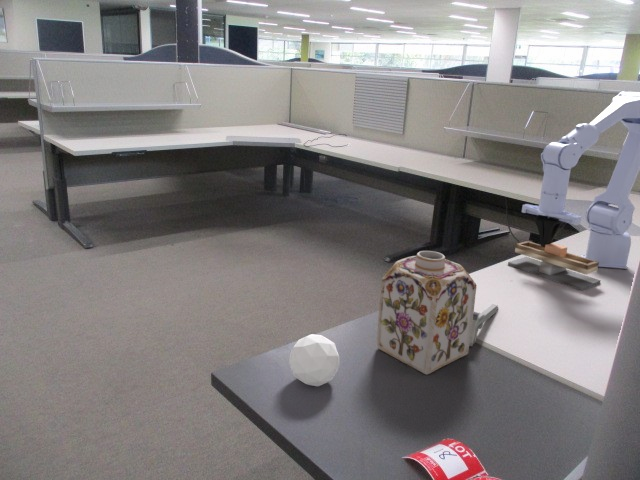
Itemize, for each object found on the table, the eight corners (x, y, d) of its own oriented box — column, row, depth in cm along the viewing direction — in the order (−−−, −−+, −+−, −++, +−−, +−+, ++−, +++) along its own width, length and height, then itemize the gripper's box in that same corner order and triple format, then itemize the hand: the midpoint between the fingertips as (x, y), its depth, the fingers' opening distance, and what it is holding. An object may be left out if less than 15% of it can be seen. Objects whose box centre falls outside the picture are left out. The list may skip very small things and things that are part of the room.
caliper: (472, 349, 95) (476, 317, 93) (466, 347, 96) (469, 315, 94) (498, 309, 112) (502, 281, 110) (493, 308, 112) (496, 280, 111)
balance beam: (507, 264, 138) (510, 244, 136) (526, 259, 143) (529, 239, 141) (582, 290, 123) (586, 267, 121) (600, 283, 127) (604, 261, 126)
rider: (543, 254, 132) (545, 244, 131) (550, 252, 134) (552, 243, 133) (558, 259, 129) (560, 249, 128) (565, 256, 131) (567, 247, 130)
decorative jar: (374, 348, 94) (380, 251, 88) (417, 330, 101) (425, 239, 96) (428, 377, 85) (438, 272, 80) (470, 355, 92) (483, 257, 87)
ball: (326, 395, 84) (358, 364, 81) (291, 397, 79) (324, 365, 75) (305, 355, 89) (335, 325, 86) (271, 355, 83) (301, 322, 80)
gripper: (517, 189, 132) (510, 241, 136) (573, 200, 121) (563, 257, 125) (534, 186, 136) (526, 237, 140) (589, 197, 125) (579, 252, 129)
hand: (545, 246), depth 133 cm, fingers closed
